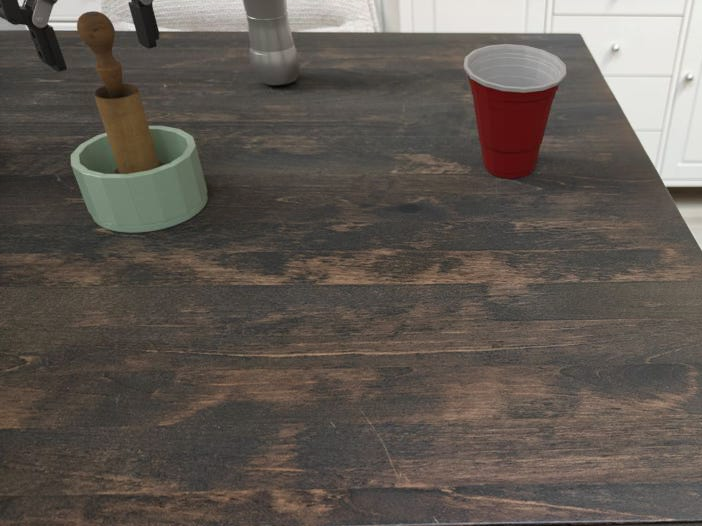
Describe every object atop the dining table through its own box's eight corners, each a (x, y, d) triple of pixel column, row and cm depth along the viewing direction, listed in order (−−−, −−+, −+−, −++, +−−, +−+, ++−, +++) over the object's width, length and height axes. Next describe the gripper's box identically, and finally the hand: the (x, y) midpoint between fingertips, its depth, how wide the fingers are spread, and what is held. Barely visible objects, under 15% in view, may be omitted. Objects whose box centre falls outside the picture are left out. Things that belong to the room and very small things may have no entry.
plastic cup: (494, 199, 79) (498, 88, 72) (446, 159, 86) (444, 53, 79) (576, 176, 84) (588, 68, 76) (524, 139, 91) (530, 37, 83)
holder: (124, 246, 72) (104, 190, 68) (71, 203, 78) (50, 149, 74) (229, 204, 78) (217, 150, 74) (173, 167, 84) (159, 116, 80)
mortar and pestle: (194, 190, 78) (146, 8, 67) (150, 218, 74) (90, 29, 62) (146, 176, 80) (91, -2, 69) (100, 203, 76) (33, 18, 64)
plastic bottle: (280, 94, 100) (252, -74, 87) (243, 84, 103) (211, -82, 90) (312, 79, 104) (290, -84, 91) (276, 70, 107) (250, -90, 94)
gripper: (105, -170, 63) (157, 30, 74) (-81, -156, 55) (7, 66, 66) (149, -161, 59) (196, 49, 70) (-45, -144, 51) (42, 89, 62)
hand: (104, 57), depth 68 cm, fingers open, 8 cm apart
